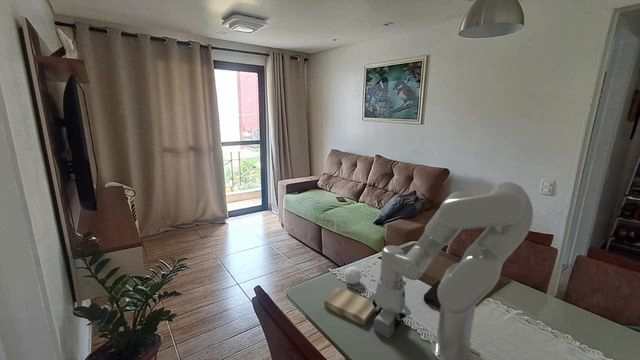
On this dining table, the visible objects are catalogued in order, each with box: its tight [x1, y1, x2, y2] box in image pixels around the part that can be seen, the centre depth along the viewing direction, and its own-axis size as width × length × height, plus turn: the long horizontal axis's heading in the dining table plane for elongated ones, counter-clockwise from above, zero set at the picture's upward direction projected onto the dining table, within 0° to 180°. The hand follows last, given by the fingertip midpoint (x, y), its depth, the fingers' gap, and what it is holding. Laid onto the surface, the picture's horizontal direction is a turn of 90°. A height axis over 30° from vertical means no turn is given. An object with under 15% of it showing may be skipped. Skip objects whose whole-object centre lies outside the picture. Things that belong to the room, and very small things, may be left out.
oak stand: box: [323, 287, 376, 326], centre depth 116 cm, size 18×11×3 cm, turn 55°
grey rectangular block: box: [373, 307, 404, 339], centre depth 107 cm, size 6×12×6 cm, turn 143°
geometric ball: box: [343, 266, 362, 285], centre depth 133 cm, size 8×8×8 cm
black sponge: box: [423, 280, 441, 308], centre depth 123 cm, size 16×8×4 cm, turn 137°
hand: (388, 322), depth 107 cm, fingers open, 6 cm apart
